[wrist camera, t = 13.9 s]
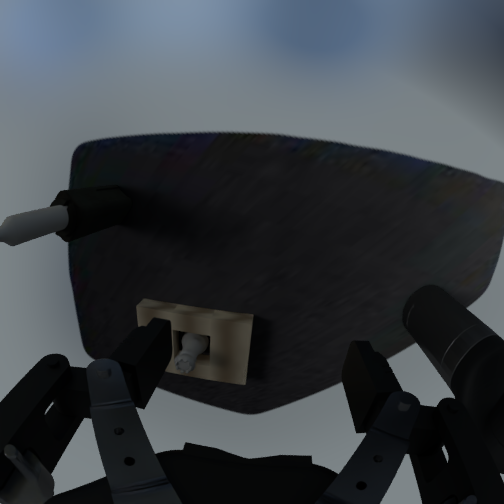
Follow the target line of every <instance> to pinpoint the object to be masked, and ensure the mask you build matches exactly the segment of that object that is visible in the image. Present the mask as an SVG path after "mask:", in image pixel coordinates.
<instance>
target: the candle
mask: <svg viewBox="0 0 504 504" xmlns="http://www.w3.org/2000/svg"><path fill="white" fill-rule="evenodd" d="M131 207H132V200H131V199H130V197H127V196H126V195H125V194H124V193H123V192H122V191H121V190H120V189H119V187H118V186H117V185H109V186H99V187H89V188H80V189H71V190H63V191H60V192H59V193H58V195H57V196H56V198H55V200H54V201H53V202H52V203H51V205H50V207H47V208H43V209H38V210H34V211H29V212H24V213H20V214H16V215H12V216H9V217H7V218H6V219H5V220H4V222H3V223H2V225H1V226H0V242H5V243H6V244H8V245H10V246H15V245H18V244H21V243H24V242H27V241H30V240H32V239H35V238H38V237H41V236H44V235H47V234H50V233H53V232H56V235H58V236H60V237H61V238H62V239H63V240H64V241H65V242H70V241H73V240H75V239H78V238H81V237H83V236H86V235H89V234H92V233H94V232H97V231H100V230H103V229H106V228H109V227H112V226H115V225H118V224H120V223H121V222H122V221H123V219H124V218H125V216H126V215H127V213H128V212H129V210H130V209H131Z"/></svg>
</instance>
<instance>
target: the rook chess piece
mask: <svg viewBox="0 0 504 504" xmlns="http://www.w3.org/2000/svg"><path fill="white" fill-rule="evenodd" d="M208 344H209V340H208V337H207V336H206V335H201V334H195V333H189V332H185V333H184V335H183V337H182V346H183V349H182V351H181V352H180V353H179V355H177V356H176V357H175V359H174V362H175V366H176V369H177V370H181V371H180V373H184V372H186V374H187V373H189V372H190V371H193V370H194V369H195V366H196V365H195V362H196V360H197V359H196V357H197V356H198V355H199V354H201V353H203V352H204V351H205V350H206V348H207V347H208Z"/></svg>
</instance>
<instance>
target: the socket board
mask: <svg viewBox="0 0 504 504" xmlns="http://www.w3.org/2000/svg"><path fill="white" fill-rule="evenodd" d="M137 317H138V327H140V326H147V324H148V323H149V322H150V321H151V320H152V318H154V317H156V318H161V319H167V320H170V321H171V328H172V347H173V351H172V358H171V361H170V363H169V365H168V366H167V368H166V370H165V371H167V372H172V373H176V374H181V375H186V376H191V377H197V378H202V379H208V380H214V381H221V382H227V383H234V384H242V385H245V384H246V377H247V369H248V360H249V352H250V343H251V333H252V324H253V315H252V314H243V313H235V312H227V311H220V310H213V309H206V308H199V307H192V306H186V305H179V304H173V303H167V302H161V301H156V300H150V299H143V300H142V301H141V302H140V303H139V304H138V305H137ZM179 331H183V332H189V333H195V334H201V335H207V336H210V355H204V354H199V355H198V356H197V357H196V359H197V360H196V362H195V365H196V366H195V369H194V370H193V371H190V372H189V373H187V374H186V372H184V373H180V371H181V370H177V369H176V366H175V362H174V359H175V357H176V356H177V355H179V353H180V352H181V351H182V350H179Z"/></svg>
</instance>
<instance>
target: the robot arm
mask: <svg viewBox="0 0 504 504" xmlns="http://www.w3.org/2000/svg"><path fill="white" fill-rule="evenodd" d="M403 324H404V326H405V328H406V329H407V331H408V332H409V333H410V335H411V336H412V337H413V338H414V340H415V341H416V343H417V344H418V345H419V346H420V348H421V349H422V351H423V352H424V353H425V355H426V356H427V357H428V359H429V360H430V361H431V363H432V364H433V366H434V367H435V368H436V370H437V371H438V373H439V374H440V375H441V377H442V378H443V379H444V381H445V382H446V383H447V385H448V386H449V388H450V389H451V391H452V393H453V394H454V396H455V399H454V398H444V399H442V400H441V401H440V402H439V403H438V405H437V407H432V406H424V405H420V402H419V400H418V398H416V396H414V395H413V394H411V393H409V392H405V391H403V390H402V388H401V386H400V384H399V382H398V381H397V379H396V377H395V375H394V373H393V371H392V369H391V367H389V364H388V362H387V360H386V358H385V357H384V356H382V355H381V354H380V353H379V352H374V350H373V348H372V346H371V344H370V342H369V341H352V342H351V344H350V347H349V350H348V353H347V356H346V359H345V362H344V366H343V369H342V383H343V386H344V389H345V393H346V397H347V400H348V404H349V408H350V411H351V415H352V418H353V422H354V426H355V430H356V433H366V436H365V438H364V439H363V441H362V442H361V444H360V445H359V447H358V448H357V450H356V451H355V452H354V454H353V455H352V457H351V458H350V460H349V461H348V462H347V464H346V465H345V466H344V468H343V469H342V471H341V472H340V473H339V474H337V473H336V472H334V471H332V470H330V469H328V468H325V467H323V466H319V465H315V464H312V456H297V455H294V456H293V455H278V456H270V457H263V458H252V459H248V458H243V457H240V456H237V455H234V454H231V453H228V452H225V451H223V450H220V449H217V448H212V447H207V446H202V445H196V444H192V443H187V442H186V443H185V445H184V448H183V450H170V451H164V452H160V453H157V454H155V453H154V451H153V449H152V446H151V444H150V442H149V439H148V437H147V435H146V432H145V430H144V428H143V425H142V423H141V420H140V418H139V415H138V412H137V410H136V407H138V408H141V409H145V407H146V405H147V403H148V402H149V399H150V398H151V396H152V394H153V392H154V390H155V388H156V387H157V385H158V383H159V381H160V379H161V377H162V376H163V374H164V372H165V370H166V368H167V366H168V365H169V363H170V361H171V358H172V351H173V347H172V328H171V321H170V320H167V319H161V318H156V317H154V318H152V320H151V321H150V322H149V323H148V324H147V326H140V327H138V328H136V329H134V330H133V331H132V332H131V333H130V334H129V335H128V336H127V338H126V339H125V340H124V341H123V343H121V344H120V346H119V347H118V348H117V349H116V350H115V351H114V352H113V354H112V355H111V356H110V357H109V358H108V359H98V360H95V361H93V362H91V363H90V364H89V365H88V367H87V368H81V367H71V366H70V364H69V361H68V359H67V358H66V357H65V356H63V355H61V354H50V355H47V356H45V357H43V358H42V359H41V360H40V361H39V362H38V363H37V364H36V365H35V366H34V367H33V368H32V369H31V370H30V371H29V372H28V373H27V374H26V375H25V376H24V377H23V378H22V379H21V380H20V381H19V382H18V383H17V385H16V386H15V387H14V388H13V389H12V390H11V391H10V392H9V393H8V394H7V395H6V397H5V398H4V399H3V400H2V401H1V402H0V503H1V504H380V502H381V501H382V498H383V497H384V495H385V493H386V492H387V490H388V488H389V486H390V485H391V483H392V480H393V479H394V477H395V475H396V473H397V470H398V468H399V467H400V465H401V463H402V460H403V458H404V456H405V454H409V455H410V459H411V462H412V466H413V469H414V473H415V477H416V480H417V484H418V488H419V492H420V496H421V500H422V504H504V482H503V480H502V478H501V476H500V473H501V474H504V340H503V339H502V338H501V337H499V336H498V335H497V334H496V333H495V332H494V331H493V330H492V329H490V328H489V327H488V326H487V325H485V324H484V323H483V322H482V321H481V320H480V319H478V318H477V317H476V316H475V315H474V314H472V313H471V312H470V311H469V310H467V309H466V308H465V307H464V306H463V305H461V304H460V303H459V302H457V301H456V300H455V299H454V298H452V297H451V296H450V295H449V294H447V293H446V292H445V291H443V290H442V289H441V288H439V287H438V286H435V285H428V286H425V287H422V288H420V289H419V290H417V291H416V292H415V293H414V294H413V295H412V296H411V297H410V298H409V300H408V301H407V303H406V305H405V308H404V311H403ZM52 402H53V403H54V404H53V405H52V406H51V408H50V409H49V410H48V412H47V413H46V414H45V412H46V409H47V408H48V407H49V406H50V404H51V403H52ZM84 418H90V419H92V423H93V428H94V432H95V437H96V440H97V445H98V448H99V452H100V456H101V459H102V463H103V466H104V470H105V473H106V477H104V478H101V479H98V480H96V481H94V482H91V483H89V484H86V485H83V486H80V487H78V488H75V489H72V490H69V491H66V492H63V493H60V494H57V495H55V496H53V495H54V491H53V490H54V479H53V477H52V475H51V473H52V472H53V470H54V468H55V467H56V465H57V463H58V461H59V460H60V458H61V456H62V454H63V453H64V451H65V449H66V447H67V446H68V444H69V442H70V441H71V439H72V437H73V435H74V434H75V432H76V430H77V429H78V427H79V426H80V424H81V422H82V421H83V419H84ZM443 446H445V448H446V450H447V453H448V456H449V460H448V463H447V460H446V458H445V455H444V453H443V450H442V447H443Z"/></svg>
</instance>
